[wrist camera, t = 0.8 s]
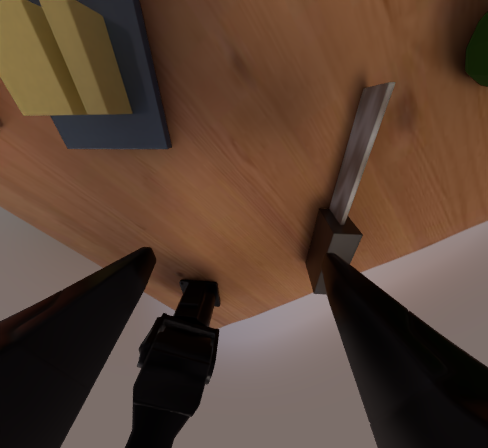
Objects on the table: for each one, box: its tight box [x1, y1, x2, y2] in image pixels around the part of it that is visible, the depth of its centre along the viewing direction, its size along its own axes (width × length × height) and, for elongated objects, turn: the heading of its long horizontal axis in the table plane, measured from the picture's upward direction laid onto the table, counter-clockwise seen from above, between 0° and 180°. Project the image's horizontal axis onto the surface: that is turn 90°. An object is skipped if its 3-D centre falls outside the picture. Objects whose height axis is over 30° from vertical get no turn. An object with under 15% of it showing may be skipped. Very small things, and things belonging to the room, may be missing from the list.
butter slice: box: [39, 0, 132, 115], centre depth 13 cm, size 6×2×3 cm, turn 1°
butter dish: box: [27, 0, 172, 149], centre depth 15 cm, size 12×11×1 cm
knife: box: [306, 82, 395, 295], centre depth 17 cm, size 20×3×5 cm, turn 1°
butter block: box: [0, 0, 89, 116], centre depth 13 cm, size 6×4×3 cm
